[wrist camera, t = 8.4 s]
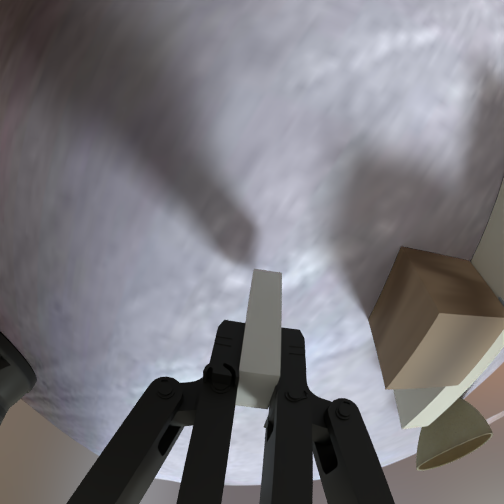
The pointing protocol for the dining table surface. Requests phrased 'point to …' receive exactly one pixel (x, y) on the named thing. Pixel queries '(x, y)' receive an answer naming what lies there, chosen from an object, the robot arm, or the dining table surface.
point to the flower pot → (452, 436)
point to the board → (441, 398)
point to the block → (433, 320)
